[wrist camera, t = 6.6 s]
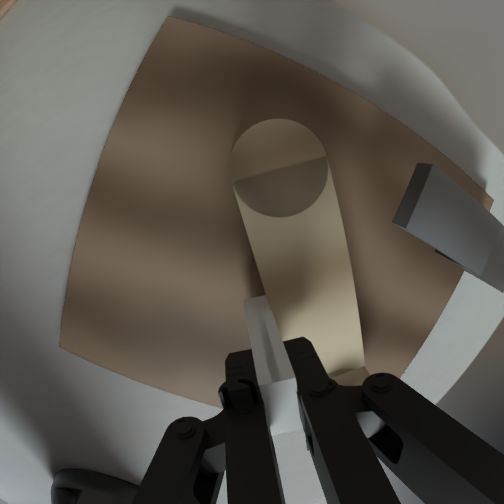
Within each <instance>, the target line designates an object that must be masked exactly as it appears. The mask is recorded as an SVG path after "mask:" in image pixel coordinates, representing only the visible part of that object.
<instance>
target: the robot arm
mask: <svg viewBox="0 0 504 504" xmlns="http://www.w3.org/2000/svg"><path fill="white" fill-rule="evenodd" d="M243 303H244V308H245V314H246V320H247V325H248V331H249V337H250V342H251V348H252V349H248V350H243V351H238V352H232V353H229V354H228V356H227V358H226V360H225V376H226V382H224V383H223V384H222V385H221V386H220V387H219V390H218V395H219V398H220V401H221V403H222V406H223V410H222V412H220V413H219V414H218V415H217V416H215V417H213V418H210V419H208V420H205V421H203V422H202V421H201V420H199V419H198V418H195V417H182V418H179V419H176V420H175V421H174V422H172V423H171V424H170V425H169V426H168V428H167V429H166V432H165V434H164V436H163V438H162V440H161V442H160V444H159V446H158V448H157V451H156V453H155V455H154V457H153V459H152V461H151V463H150V465H149V467H148V470H147V472H146V474H145V476H144V478H143V480H142V482H141V484H140V487H137V486H135V485H132V484H130V483H127V482H124V481H121V480H118V479H115V478H112V477H109V476H106V475H102V474H98V473H94V472H89V471H84V470H75V469H67V470H62V471H59V472H58V473H57V474H56V476H55V479H54V481H53V484H52V487H51V504H216V501H217V498H218V494H219V490H220V487H221V483H222V479H223V476H224V471H225V470H226V478H227V497H228V504H285V499H284V494H283V489H282V484H281V479H280V474H279V469H278V464H277V458H276V453H275V448H274V444H273V440H272V436H273V435H278V434H283V433H288V432H292V431H296V430H300V429H304V432H305V435H306V443H307V451H308V450H310V453H311V456H312V459H313V462H314V465H315V468H316V471H317V474H318V477H319V480H320V483H321V486H322V489H323V492H324V495H325V498H326V501H327V504H401V503H400V501H399V499H398V497H397V495H396V493H395V491H394V489H393V487H392V485H391V484H390V481H389V479H388V478H387V476H386V474H385V472H384V470H383V468H382V466H381V464H380V462H379V460H378V458H379V459H380V460H381V461H382V462H383V463H384V464H385V465H386V466H387V467H388V468H389V469H390V470H391V471H392V472H393V473H394V474H395V475H396V476H397V477H398V478H399V479H400V480H401V481H402V482H403V483H404V484H405V485H406V486H407V487H408V488H409V489H410V490H411V491H412V492H413V493H414V494H415V495H416V496H418V497H419V498H420V499H421V500H422V501H423V502H424V503H425V504H504V455H503V454H502V453H501V452H499V451H498V450H496V449H495V448H494V447H492V446H491V445H489V444H488V443H487V442H485V441H484V440H482V439H481V438H480V437H478V436H477V435H476V434H474V433H473V432H471V431H470V430H469V429H467V428H466V427H464V426H463V425H462V424H460V423H459V422H457V421H456V420H455V419H453V418H452V417H451V416H449V415H448V414H446V413H445V412H444V411H442V410H441V409H440V408H438V407H437V406H436V405H434V404H433V403H432V402H430V401H429V400H427V399H426V398H425V397H423V396H422V395H421V394H419V393H418V392H417V391H415V390H414V389H413V388H411V387H410V386H408V385H407V384H406V383H404V382H403V381H402V380H400V379H399V378H398V377H396V376H394V375H392V374H390V373H384V372H382V373H375V374H372V375H370V376H368V377H367V378H366V379H365V380H364V382H363V384H362V385H358V386H343V385H339V384H338V383H337V382H336V381H335V380H333V379H331V378H329V376H328V374H327V372H326V370H325V368H324V366H323V364H322V362H321V360H320V358H319V356H318V354H317V352H316V350H315V348H314V346H313V344H312V342H311V341H309V340H308V339H306V338H305V337H299V338H295V339H291V340H286V341H282V338H281V335H280V332H279V330H278V327H277V324H276V321H275V318H274V316H273V313H272V310H270V306H269V303H268V300H267V297H266V295H264V296H259V297H254V298H249V299H244V300H243ZM302 426H303V428H302ZM377 457H378V458H377Z"/></svg>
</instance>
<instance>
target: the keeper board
mask: <svg viewBox="0 0 504 504" xmlns="http://www.w3.org/2000/svg"><path fill="white" fill-rule="evenodd" d="M270 119H287V120H292V121H295V122H297V123H300V124H302V125H303V126H305V127H307V128H308V129H309V130H311V131H312V132H313V133H314V134H315V135H316V136H317V138H318V139H319V140H320V142H321V143H322V145H323V147H324V149H325V152H326V155H327V159H328V163H329V167H330V171H331V175H332V179H333V183H334V187H335V191H336V195H337V200H338V204H339V209H340V213H341V218H342V222H343V227H344V232H345V237H346V242H347V247H348V252H349V258H350V263H351V269H352V274H353V280H354V286H355V293H356V299H357V306H358V312H359V320H360V327H361V335H362V343H363V351H364V361H365V368H366V369H367V371H368V372H369V374H370V375H372V374H375V373H382V372H384V373H390V374H392V375H394V376H396V377H398V378H400V377H401V376H402V374H403V373H404V371H405V370H406V369H407V367H408V366H409V364H410V363H411V361H412V360H413V358H414V357H415V356H416V354H417V353H418V351H419V349H420V348H421V346H422V345H423V343H424V342H425V340H426V339H427V337H428V335H429V334H430V332H431V331H432V329H433V327H434V326H435V324H436V322H437V321H438V319H439V317H440V315H441V314H442V312H443V310H444V308H445V307H446V305H447V303H448V301H449V299H450V298H451V296H452V294H453V292H454V290H455V288H456V286H457V284H458V282H459V280H460V278H461V276H462V274H463V272H464V270H465V271H466V272H468V273H470V274H472V275H474V276H475V277H477V278H479V279H480V280H482V281H484V282H486V283H487V284H489V285H491V286H492V287H494V288H496V289H497V290H499V291H501V292H502V293H503V292H504V226H503V225H502V224H501V223H500V222H499V221H498V220H497V219H496V218H495V217H494V216H493V215H492V214H491V213H490V209H491V206H492V203H493V201H494V200H493V199H492V198H491V197H490V196H489V195H488V194H487V193H486V192H485V191H484V190H483V189H482V188H481V187H480V186H479V185H478V184H477V183H476V182H475V181H474V180H472V179H471V178H470V177H469V176H468V175H467V174H466V173H465V172H463V171H462V170H461V169H460V168H459V167H458V166H457V165H455V164H454V163H453V162H452V161H451V160H449V159H448V158H447V157H446V156H445V155H443V154H442V153H441V152H440V151H438V150H437V149H436V148H435V147H433V146H432V145H431V144H430V143H428V142H427V141H426V140H424V139H423V138H422V137H420V136H419V135H418V134H416V133H415V132H413V131H412V130H411V129H409V128H408V127H407V126H405V125H404V124H402V123H401V122H399V121H398V120H397V119H395V118H394V117H392V116H391V115H389V114H388V113H386V112H385V111H383V110H381V109H380V108H378V107H377V106H375V105H374V104H372V103H370V102H369V101H367V100H366V99H364V98H362V97H361V96H359V95H357V94H356V93H354V92H352V91H351V90H349V89H347V88H345V87H344V86H342V85H340V84H338V83H336V82H335V81H333V80H331V79H329V78H327V77H325V76H323V75H321V74H320V73H318V72H316V71H314V70H312V69H310V68H308V67H306V66H304V65H302V64H299V63H297V62H295V61H293V60H291V59H289V58H287V57H284V56H282V55H280V54H278V53H275V52H273V51H271V50H268V49H266V48H263V47H261V46H259V45H256V44H254V43H251V42H248V41H246V40H243V39H241V38H238V37H235V36H232V35H230V34H227V33H224V32H221V31H218V30H215V29H212V28H209V27H205V26H202V25H199V24H195V23H192V22H189V21H185V20H181V19H178V18H174V17H170V16H168V17H167V19H166V20H165V22H164V24H163V25H162V27H161V29H160V30H159V32H158V34H157V35H156V37H155V39H154V41H153V43H152V44H151V46H150V48H149V50H148V52H147V53H146V55H145V57H144V59H143V61H142V63H141V65H140V67H139V69H138V71H137V73H136V75H135V77H134V79H133V81H132V83H131V85H130V87H129V89H128V92H127V94H126V96H125V98H124V100H123V103H122V105H121V107H120V110H119V112H118V114H117V117H116V119H115V121H114V124H113V126H112V129H111V131H110V134H109V136H108V139H107V142H106V144H105V147H104V150H103V153H102V155H101V158H100V161H99V164H98V167H97V170H96V173H95V176H94V179H93V182H92V185H91V188H90V192H89V195H88V198H87V202H86V205H85V209H84V213H83V216H82V220H81V224H80V228H79V232H78V236H77V240H76V244H75V249H74V253H73V258H72V263H71V268H70V273H69V278H68V284H67V290H66V296H65V302H64V309H63V316H62V324H61V333H60V343H59V347H60V348H62V349H64V350H66V351H68V352H70V353H73V354H75V355H77V356H79V357H81V358H83V359H85V360H87V361H90V362H92V363H94V364H96V365H99V366H101V367H103V368H106V369H108V370H110V371H113V372H115V373H118V374H120V375H123V376H125V377H128V378H130V379H133V380H135V381H138V382H141V383H143V384H146V385H149V386H152V387H154V388H157V389H160V390H163V391H166V392H169V393H172V394H175V395H178V396H181V397H185V398H188V399H191V400H194V401H198V402H201V403H205V404H208V405H212V406H215V407H219V408H223V406H222V403H221V401H220V398H219V395H218V390H219V387H220V386H221V385H222V384H223V383H224V382H226V376H225V360H226V358H227V356H228V354H229V353H232V352H238V351H243V350H248V349H252V348H251V342H250V337H249V331H248V325H247V320H246V314H245V308H244V303H243V300H244V299H249V298H254V297H259V296H264V295H266V293H265V290H264V287H263V283H262V280H261V277H260V274H259V270H258V267H257V264H256V261H255V257H254V254H253V251H252V248H251V244H250V241H249V238H248V235H247V231H246V228H245V225H244V222H243V218H242V215H241V212H240V209H239V205H238V202H237V199H236V196H235V192H234V189H233V186H232V183H231V179H230V175H229V158H230V155H231V152H232V149H233V147H234V145H235V144H236V142H237V141H238V139H239V138H240V137H241V135H242V134H243V133H244V132H245V131H246V130H248V129H249V128H250V127H252V126H253V125H255V124H257V123H259V122H262V121H265V120H270Z"/></svg>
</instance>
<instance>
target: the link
mask: <svg viewBox="0 0 504 504" xmlns="http://www.w3.org/2000/svg"><path fill="white" fill-rule="evenodd" d="M229 175H230V179H231V183H232V186H233V189H234V192H235V196H236V199H237V202H238V205H239V209H240V212H241V215H242V218H243V222H244V225H245V228H246V231H247V235H248V238H249V241H250V244H251V248H252V251H253V254H254V257H255V261H256V264H257V267H258V270H259V274H260V277H261V280H262V283H263V287H264V290H265V293H266V297H267V300H268V303H269V306H270V310H272V313H273V316H274V318H275V321H276V324H277V327H278V330H279V332H280V335H281V338H282V341H286V340H291V339H295V338H299V337H305V338H306V339H308V340H309V341H311V342H312V344H313V346H314V348H315V350H316V352H317V354H318V356H319V358H320V360H321V362H322V364H323V366H324V368H325V370H326V372H327V374H328V376H329V378H331V379H333V380H335V381H336V382H337V383H338V384H339V385H343V386H358V385H362V384H363V382H364V380H365V379H366V378H367V377H368V376H370V374H369V372H368V371H367V369H366V368H365V361H364V351H363V343H362V335H361V327H360V320H359V312H358V306H357V299H356V293H355V286H354V280H353V274H352V269H351V263H350V258H349V252H348V247H347V242H346V237H345V232H344V227H343V222H342V218H341V213H340V209H339V204H338V200H337V195H336V191H335V187H334V183H333V179H332V175H331V171H330V167H329V163H328V159H327V155H326V152H325V149H324V147H323V145H322V143H321V142H320V140H319V139H318V138H317V136H316V135H315V134H314V133H313V132H312V131H311V130H309V129H308V128H307V127H305V126H303V125H302V124H300V123H297V122H295V121H292V120H287V119H270V120H265V121H262V122H259V123H257V124H255V125H253V126H252V127H250V128H249V129H248V130H246V131H245V132H244V133H243V134H242V135H241V137H240V138H239V139H238V141H237V142H236V144H235V145H234V147H233V149H232V152H231V155H230V158H229Z"/></svg>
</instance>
